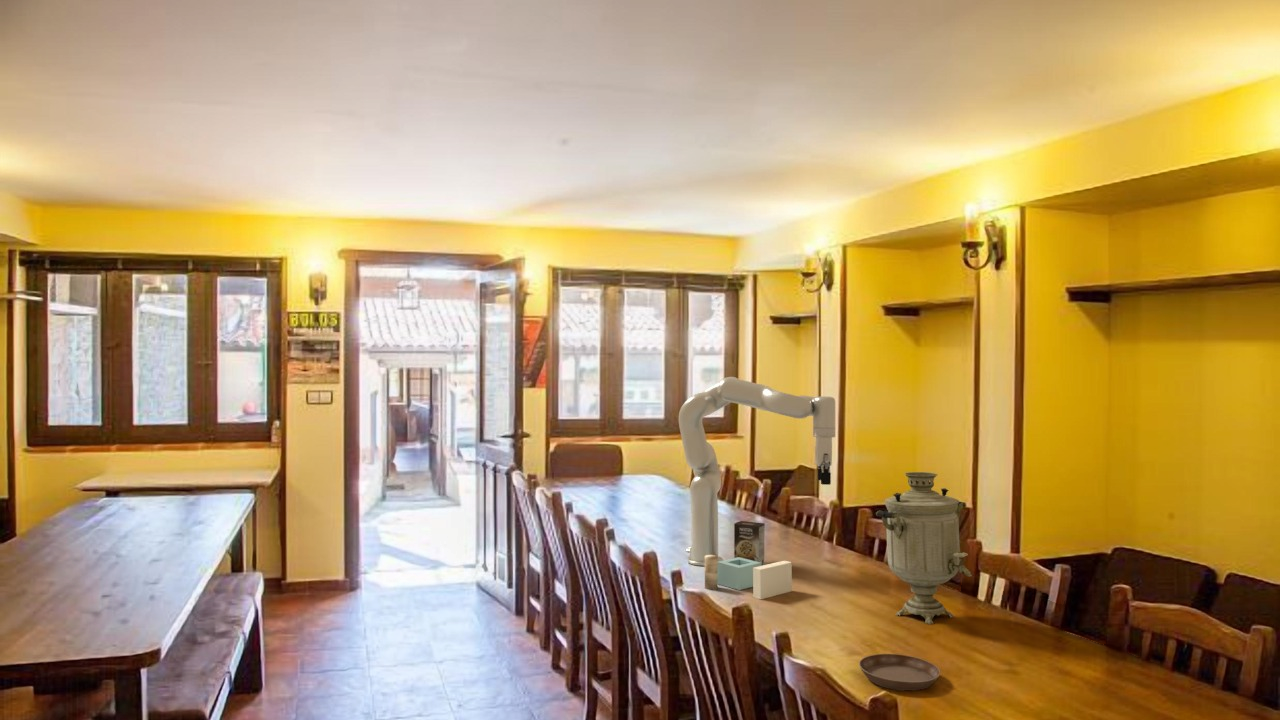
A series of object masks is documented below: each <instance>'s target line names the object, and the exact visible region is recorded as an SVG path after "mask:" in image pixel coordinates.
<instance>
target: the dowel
mask: <svg viewBox="0 0 1280 720" xmlns="http://www.w3.org/2000/svg"><path fill="white" fill-rule="evenodd" d="M704 589H706V590H710V591H711V590H712V591H713V590H717V589H718V584H717V556H716V555H706V556H705V566H704Z"/></svg>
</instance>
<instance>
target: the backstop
mask: <svg viewBox="0 0 1280 720" xmlns="http://www.w3.org/2000/svg"><path fill="white" fill-rule="evenodd" d="M792 569H793V566H792V562H791V561H787V560H781V561H777V562H772V563H768V564H764V565H763V566H759V567H754V568H753V587H752V590H753V591H752V593H753V594H752V595H753V596H752V597H753V598H754V599H758V600H763V599H768V598H771V597H775V596H779V595H783V594H786V593H791V592H792V591H793V588H792V587H793V586H792V585H793V583H792V582H793V581H792V578H793V577H792V576H793V575H792V574H793V573H792Z"/></svg>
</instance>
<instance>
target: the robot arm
mask: <svg viewBox="0 0 1280 720" xmlns="http://www.w3.org/2000/svg"><path fill="white" fill-rule="evenodd" d="M731 403H732V404H738V405H742V406H746V407H749V408H754V409H759V410H761V411H767V412H769V413H774V414H778V415H782V416H786V417H790V418H794V419H799V420H800V419H801V420H802V419H806V418H807V417H812V437H813V438H815V442H814V443H815V445H814V464H815V465H816V466H817V481H820V484H821V485H828V486H829V485H832V484H831V482H832V480H831V479H832V475H831V474H832V472H831V466H832V463H833V462H832V461H833V438H836V400H835V397H832V396H809V395H794V394H790V393H786V392H783V391H779V390H776V389H773V388H771V387H770V386H768V385H764V384H761V383H756V382H752V381H751V382H750V381H747V380H744V379H740V378H737V377H735V376H728V377H723V378H722V379H721V380H720V381H719V382H718V383H716V384H715V385H713V386H711V387H709V388H708V389H706V390H704V391H702V392H698V393H695V394H694V395H692V396H690V397H689V398H688V399H687V400H686V401H685V402H683V404H682V405H681V407H680V409H679V413H678V428H679V431H680V436H681V442H682V446H683V451H684V457H685V462H686V464H687V465H688V467H689V468H691V469H692V471H693V475H694V477H693V478H692V480H691V483H690V486H689V496H690V511H691V512H690V513H691V514H690V516H691V517H690V519H691V521H690V522H691V523H690V525H691V536H690V537H691V545H690V546H689V547H688V548H686V550H685V552H686V553H687V554H689V556H688V557H687V558H686V559H687V560H686V561H687V563H688V564H689V565H693V566H703V567H705V556H706V555H716V556H717V562H719V561H723V560H724V559H723V557H721V556H719V506H718V505H719V504H718V493H719V491H720V490H721V487H722V476H721V471H720V468H719V463H718V459H717V454H716V452H715V449H714V447H713V445H712V444H711V443H710V442H707V441H708V440H707V437H706V431H705V428H704V423H703V419H704V418H705V417H707V416H710V415H712V414H713V413H715V412H717V411H719V410H720V409H722V408H724V407H726V406H728V405H729V404H731Z"/></svg>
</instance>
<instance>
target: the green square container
mask: <svg viewBox="0 0 1280 720" xmlns="http://www.w3.org/2000/svg"><path fill="white" fill-rule="evenodd" d="M759 566H761V563H760V562H756V561H752V560H748V559H744V558H740V557H737V558H734V557H733V558H729V559H725V560H724V559H723V561H719V562H717V585H721V586H724V587H727V588H731V589H734V590H738V591H741V590H745V589H746V590H747V589H749V588H753V568H754V567H759Z"/></svg>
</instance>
